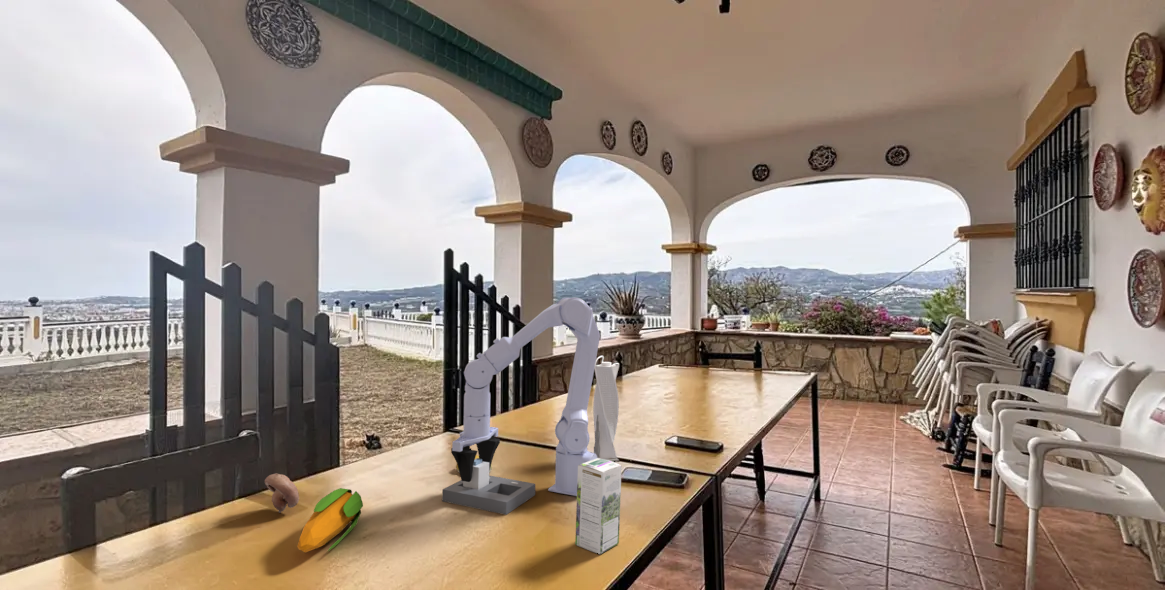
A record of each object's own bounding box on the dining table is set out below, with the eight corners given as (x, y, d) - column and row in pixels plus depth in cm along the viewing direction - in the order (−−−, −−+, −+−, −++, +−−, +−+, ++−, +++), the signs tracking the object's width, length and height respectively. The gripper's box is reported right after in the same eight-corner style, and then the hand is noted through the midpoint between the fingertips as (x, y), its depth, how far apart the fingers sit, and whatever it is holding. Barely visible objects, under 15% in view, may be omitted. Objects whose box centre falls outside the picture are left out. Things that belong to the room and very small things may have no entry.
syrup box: (594, 534, 97) (596, 456, 98) (620, 544, 94) (622, 463, 94) (574, 545, 93) (576, 463, 93) (601, 556, 89) (602, 470, 89)
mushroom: (264, 508, 106) (265, 468, 106) (298, 503, 109) (299, 465, 109) (262, 522, 100) (263, 480, 100) (298, 517, 103) (299, 476, 103)
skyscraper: (585, 454, 148) (587, 355, 149) (612, 452, 151) (613, 355, 151) (594, 463, 140) (596, 358, 140) (623, 461, 143) (624, 358, 143)
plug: (488, 493, 117) (489, 458, 117) (478, 500, 113) (478, 463, 113) (473, 491, 118) (474, 456, 118) (462, 496, 115) (463, 461, 115)
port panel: (535, 494, 117) (535, 483, 117) (506, 514, 106) (506, 501, 106) (475, 483, 123) (475, 472, 123) (442, 501, 112) (442, 488, 112)
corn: (369, 477, 104) (327, 520, 84) (371, 516, 103) (329, 568, 84) (331, 480, 103) (279, 523, 83) (333, 519, 103) (281, 571, 83)
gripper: (480, 406, 124) (479, 464, 124) (441, 418, 111) (439, 483, 111) (506, 409, 121) (505, 468, 121) (468, 422, 108) (467, 488, 108)
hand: (475, 476), depth 116 cm, fingers open, 6 cm apart
